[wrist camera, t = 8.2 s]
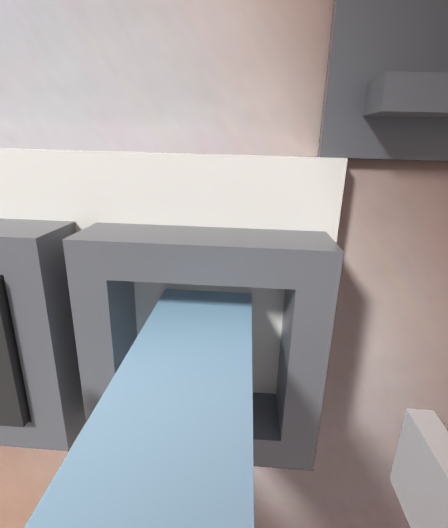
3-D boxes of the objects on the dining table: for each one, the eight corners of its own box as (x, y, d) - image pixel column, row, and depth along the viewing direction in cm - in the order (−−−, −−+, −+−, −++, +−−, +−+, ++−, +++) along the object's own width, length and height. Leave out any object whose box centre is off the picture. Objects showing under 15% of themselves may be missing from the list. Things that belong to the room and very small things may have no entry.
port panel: (-143, 144, 16) (-281, 143, 12) (341, 157, 15) (377, 161, 11) (-61, 421, 21) (-137, 488, 17) (304, 449, 20) (318, 529, 16)
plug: (165, 288, 16) (-101, 738, 4) (251, 293, 16) (256, 786, 4) (167, 362, 17) (-28, 873, 5) (247, 367, 17) (241, 915, 5)
